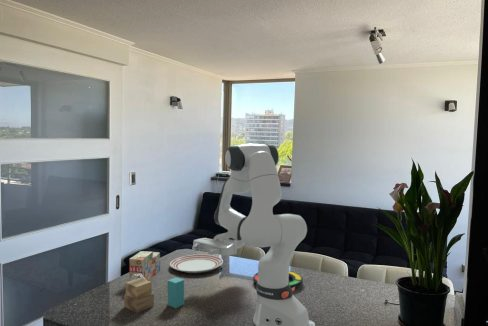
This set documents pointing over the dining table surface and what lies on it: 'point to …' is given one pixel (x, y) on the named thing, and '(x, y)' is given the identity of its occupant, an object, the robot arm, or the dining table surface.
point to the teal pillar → (175, 292)
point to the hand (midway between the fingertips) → (201, 250)
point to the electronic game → (293, 276)
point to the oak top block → (138, 288)
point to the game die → (136, 276)
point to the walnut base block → (139, 303)
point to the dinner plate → (196, 263)
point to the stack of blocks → (145, 264)
